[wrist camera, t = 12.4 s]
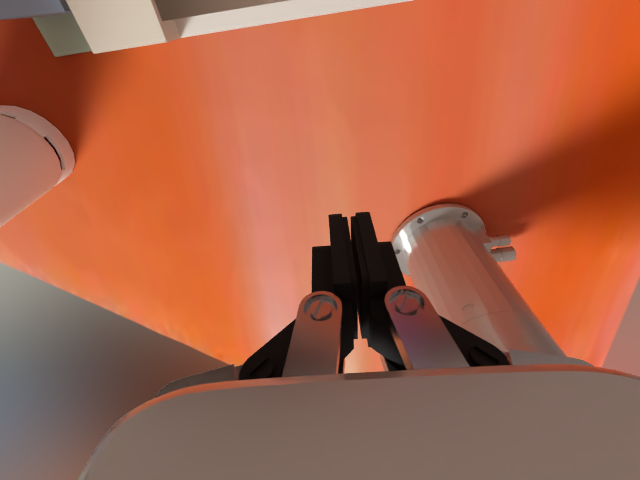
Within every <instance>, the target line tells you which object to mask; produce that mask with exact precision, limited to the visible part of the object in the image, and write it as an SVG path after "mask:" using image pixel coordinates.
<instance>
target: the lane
mask: <svg viewBox="0 0 640 480" xmlns="http://www.w3.org/2000/svg"><path fill="white" fill-rule="evenodd" d="M405 1H411V0H66V2H67V4H68V6H69V7H70V9H71V11H72V13H68V14H60V15H52V16H44V17H36V18H32V19H33V20H34V22H35V24H36V26H37V27H38V29H39V31H40V32H41V34H42V36H43V37H44V39H45V41H46V43H47V44H48V46H49V48H50V49H51V51H52V53H53V54H54V56H55V57H59V56H65V55H71V54H77V53H83V52H90V51H92V52H93V54H96V53H102V52H109V51H115V50H121V49H127V48H133V47H140V46H146V45H152V44H158V43H164V42H169V41H172V40H175V39H179V38H183V37H189V36H195V35H201V34H208V33H214V32H220V31H226V30H232V29H239V28H245V27H251V26H257V25H263V24H269V23H276V22H282V21H288V20H294V19H300V18H306V17H313V16H319V15H325V14H331V13H337V12H344V11H350V10H356V9H362V8H368V7H374V6H381V5H387V4H393V3H399V2H405Z"/></svg>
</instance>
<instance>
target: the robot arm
mask: <svg viewBox="0 0 640 480" xmlns="http://www.w3.org/2000/svg"><path fill="white" fill-rule="evenodd" d="M329 227H330V242H331V246H318V247H312V293H310V294H309V295H307V296H305V298H304V299H303V300H302V301H301V303H300V305H299V309H298V313H297V317H296V319H295V320H294V321H293V322H291V323H290V324H289V325H288V326H287V327H285V328H284V329H283V330H282V331H281V332H279V333H278V334H277V335H276V336H275V337H273V338H272V339H271V340H270V341H269V342H267V343H266V344H265V345H264V346H263V347H261V348H260V349H259V350H258V351H257V352H255V353H254V354H253V355H252V356H251V357H249V358H248V359H247V360H246V362H245V363H244V364H243V365H240V366H237V367H235V366H234V364H232V365H229V366H225V367H221V368H218V369H214V370H210V371H207V372H203V373H200V374H196V375H192V376H189V377H185V378H181V379H178V380H175V381H173V382H171V383H169V384H167V385H166V386H165V387H163V388H162V389H161V390H160V391H159V393H158V394H157V395H156V397H155V398H154V399H153V400H150V401H148V402H146V403H144V404H142V405H140V406H139V407H137V408H135V409H133V410H132V411H130V412H129V413H127V414H126V415H125V416H123V417H122V418H121V419H120V420H118V421H117V422H116V423H115V424H114V425H113V427H112V428H111V429H110V430H109V431H108V432H107V434H106V435H105V436H104V437H103V439H102V440H101V442H100V443H99V445H98V446H97V448H96V449H95V451H94V452H93V454H92V455H91V457H90V459H89V460H88V462H87V464H86V465H85V467H84V468H83V470H82V472H81V474H80V476H79V477H78V479H77V480H640V377H639V376H635V375H632V374H628V373H624V372H620V371H616V370H611V369H606V368H599V367H594V366H593V365H591V364H589V363H587V362H585V361H583V360H579V359H575V358H570V357H567V356H566V355H565V354H564V352H563V351H562V350H561V349H560V347H559V346H558V345H557V343H556V342H555V341H554V339H553V338H552V337H551V335H550V334H549V333H548V331H547V330H546V329H545V327H544V326H543V325H542V323H541V322H540V321H539V319H538V318H537V317H536V315H535V314H534V313H533V311H532V310H531V308H530V307H529V306H528V304H527V303H526V302H525V300H524V299H523V298H522V296H521V295H520V293H519V292H518V291H517V289H516V288H515V287H514V285H513V284H512V282H511V281H510V280H509V278H508V277H507V276H506V274H505V273H504V272H503V270H502V269H501V267H500V266H499V265H498V263H497V262H505V261H513V260H515V258H516V251H515V249H514V248H513V247H512V246H510V247H501V248H496V249H491V248H492V247H493V246H505V245H510V242H511V240H510V237H509V235H501V236H496V237H490V236H488V235H486V230H485V225H484V223H483V221H482V219H481V218H480V217H479V216H478V214H477V213H476V212H474V211H473V210H472V209H470V208H468V207H466V206H464V205H459V204H449V203H446V204H438V205H434V206H430V207H427V208H425V209H422V210H420V211H418V212H416V213H415V214H413V215H411V216H410V217H409V218H407V219H406V220H405V221H404V222H403V223H402V224H401V225H400V226H399V227H398V229H397V230H396V232H395V233H394V235H393V237H392V240H391V242H378V241H377V238H376V234H375V230H374V227H373V223H372V220H371V216H370V213H369V212H360V213H356V216H353V217H351V239H350V233H349V226H348V220H347V217H342V214H332V215H329ZM402 272H403V273H404V274H406V275H408V276H411V278H412V280H413V283H414V285H415V288H414V287H410V286H406V284H405V281H404V278H403V275H402ZM358 316H359V323H360V330H361V336H362V339H363V338H367V341H368V347H371V348H373V349H374V350H375V351H377V352H378V353H380V357H381V362H382V365H383V367H384V370H385V371H384V372H366V373H347V374H344V368H345V357H346V356H347V355H348V354H349V353H350V352H351V351H352V350H353V349H354V339H358Z"/></svg>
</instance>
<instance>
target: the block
mask: <svg viewBox="0 0 640 480" xmlns="http://www.w3.org/2000/svg"><path fill="white" fill-rule="evenodd" d="M68 13H72V11H71V9H70V7H69V6H68V4H67V2H66V0H0V20H5V19H21V18H36V17H44V16H52V15H60V14H68Z"/></svg>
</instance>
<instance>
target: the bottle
mask: <svg viewBox="0 0 640 480" xmlns="http://www.w3.org/2000/svg"><path fill="white" fill-rule="evenodd" d="M0 114H3V115H0V227H1V226H2V225H4V224H5V223H6V222H8V221H9V220H10V219H12V218H13V217H14V216H16V215H17V214H18V213H20V212H21V211H22V210H24V209H25V208H26V207H28V206H29V205H30V204H32V203H33V202H35V201H36V200H37V199H39V198H40V197H41V196H43V195H44V194H45V193H47V192H48V191H49V190H51V189H52V188H53V187H54V186H55V185H57V184H59V183H60V182H61V181H63V180H64V179H65V178H67V177H68V176H69V175H70V174H71V173H72V172H73V169H74V166H75V159H74V152H73V150H72V148H71V146H70V144H69V142H68V141H67V139H66V138H65V137H64V136H63V135H62V133H61V132H60V131H59V130H58V129H57V128H56V127H55V126H53V125H52V124H51V123H50V122H49V121H47V120H46V119H45V118H43V117H41V116H39V115H37V114H36V113H34V112H32V111H30V110H27V109H24V108H20V107H17V106H8V105H0ZM4 115H7V116H10V117H7V116H4ZM11 117H13V118H11ZM14 118H15V119H14ZM44 137H46V138H47V139H48V140H49V141H50V143H51V144H52V145H53V146H54V147H55V149H56V151H57V153H58V155H59V157H60V158H61V165H62V170H61V166H60V161H59V159H58V157H57V155H56V153H55V151H54V149H53V148H52V147H51V146H50V144H49V143H48V142H47V141H46V140H45V139H44Z"/></svg>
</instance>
